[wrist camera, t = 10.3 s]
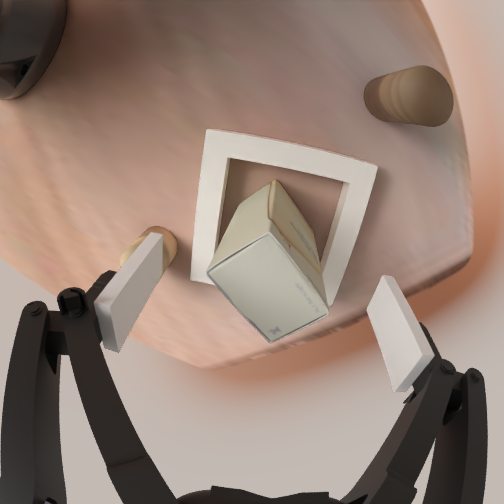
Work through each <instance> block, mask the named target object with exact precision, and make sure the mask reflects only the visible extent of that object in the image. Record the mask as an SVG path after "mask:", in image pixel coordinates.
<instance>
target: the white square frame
mask: <svg viewBox="0 0 504 504" xmlns="http://www.w3.org/2000/svg"><path fill="white" fill-rule="evenodd" d="M231 158H234V159H240V160H246V161H252V162H257V163H263V164H268V165H273V166H278V167H283V168H288V169H292V170H297V171H302V172H306V173H311V174H315V175H319V176H324V177H328V178H332V179H336V180H340V181H344V182H343V186H342V190H341V194H340V197H339V201H338V204H337V208H336V212H335V215H334V219H333V222H332V225H331V229H330V232H329V236H328V239H327V242H326V245H325V249H324V252H323V255H322V258H321V261H320V267H321V272H322V277H323V282H324V287H325V292H326V297H327V303H328V306H332V304H333V301H334V299H335V296H336V294H337V291H338V289H339V286H340V283H341V281H342V278H343V275H344V273H345V270H346V267H347V264H348V262H349V259H350V256H351V253H352V250H353V247H354V244H355V242H356V239H357V236H358V233H359V230H360V226H361V223H362V220H363V217H364V214H365V211H366V207H367V204H368V201H369V197H370V194H371V191H372V187H373V184H374V180H375V176H376V173H377V169H378V166H377V165H375V164H373V163H371V162H368V161H365V160H362V159H358V158H355V157H351V156H347V155H344V154H340V153H336V152H332V151H328V150H324V149H320V148H316V147H312V146H308V145H303V144H299V143H294V142H289V141H285V140H280V139H274V138H269V137H264V136H258V135H253V134H247V133H241V132H234V131H227V130H220V129H213V128H211V129H207V130H206V136H205V143H204V150H203V157H202V165H201V173H200V181H199V189H198V198H197V207H196V217H195V227H194V238H193V249H192V262H191V275H190V280H193V281H198V282H203V283H207V284H212V285H215V284H214V283H213V282H212V281H211V280H210V279H209V278H208V277H207V275H206V270H207V268H208V266H209V264H210V262H211V260H212V258H213V256H214V254H215V252H216V250H217V248H218V241H219V233H220V226H221V219H222V212H223V205H224V198H225V191H226V184H227V178H228V171H229V165H230V159H231Z"/></svg>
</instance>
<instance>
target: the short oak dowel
mask: <svg viewBox="0 0 504 504" xmlns="http://www.w3.org/2000/svg"><path fill="white" fill-rule="evenodd" d="M150 232H153V233H158V234H163V256H162V275H163V274H164V272H165V271H166V269H167V268H168V266H169V264H170V263H171V261H172V260H173V258H174V257H175V255H176V253H177V250H178V245H177V241H176V238H175V237H174V235H173V234H172V233H171V232H170V231H169V230H167V229H165V228H163V227H160V226H154V227H150V228H148V229H147V230H146V231H145V232H144V233H143V234H142V235H141V236H140V237H139V238H138V239H137V240H136V241H135V242H134V243H133V244H132V245H131V246H130V247H129V248H128V249H127V250H126V251H125V252H124V253H123V255H122V256H121V259H120V268H121V267H122V266H123V264H124V263H125V262H126V261H127V260H128V258H129V257H130V256H131V255H132V254H133V252H134V251H135V250H136V249H137V248H138V246H139V245H140V244H141V243H142V242H143V241H144V239H145V238H146V237H147V236H148V235H149V234H150ZM161 277H162V276H161ZM159 280H160V279H159ZM158 282H159V281H158Z"/></svg>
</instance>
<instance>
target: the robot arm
mask: <svg viewBox="0 0 504 504" xmlns="http://www.w3.org/2000/svg"><path fill="white" fill-rule="evenodd" d="M65 19H66V2H65V0H0V100H5V99H12V98H16V97H19V96H21V95H22V94H24V93H25V92H27V91H28V90H29V89H30V88H31V87H32V86H33V85H34V84H35V83H36V82H37V80H38V79H39V78H40V77H41V75H42V74H43V72H44V71H45V69H46V68H47V66H48V64H49V63H50V61H51V59H52V57H53V55H54V53H55V51H56V49H57V46H58V44H59V41H60V38H61V35H62V32H63V29H64V24H65ZM162 256H163V234H158V233H153V232H150V234H149V235H148V236H147V237H146V238H145V239H144V241H143V242H142V243H141V244H140V245H139V246H138V248H137V249H136V250H135V251H134V252H133V254H132V255H131V256H130V257H129V258H128V260H127V261H126V262H125V263H124V264H123V266H122V267H121V268H120V269H119V271H118V272H115V271H111V270H109V271H107V272H105V273H103V274H102V275H101V276H100V277H99V278H98V279H97V280H96V282H95V283H94V284H93V285H92V287H91V288H90V289H89V290H88V291H87V293H85V292H84V290H82V289H80V288H76V287H72V288H67V289H64V290H63V291H62V292H60V293H59V295H58V297H57V302H58V305H59V309H60V311H49V310H48V308H47V306H46V304H45V303H44V302H42V301H34V302H31V303H29V304H27V305H26V306H25V307H24V309H23V311H22V314H21V318H20V321H19V325H18V328H17V332H16V336H15V340H14V345H13V349H12V354H11V358H10V363H9V369H8V375H7V381H6V388H5V395H4V403H3V413H2V427H1V477H0V504H67V499H66V498H67V497H66V488H65V481H64V474H63V466H62V456H61V444H60V425H59V384H60V381H59V380H60V364H61V355H69V356H70V361H71V365H72V369H73V373H74V376H75V380H76V384H77V387H78V391H79V394H80V397H81V400H82V403H83V407H84V410H85V413H86V415H87V418H88V421H89V424H90V426H91V429H92V432H93V435H94V437H95V440H96V442H97V445H98V447H99V449H100V452H101V454H102V456H103V459H104V461H105V463H106V466H107V472H108V474H109V477H110V479H111V481H112V483H113V485H114V487H115V489H116V491H117V493H118V495H119V496H120V498H121V500H122V502H123V503H124V504H411V503H412V501H413V499H414V498H415V495H416V493H417V489H416V488H414V484H415V482H416V480H417V478H418V476H419V474H420V472H421V470H422V468H423V466H424V464H425V461H426V459H427V457H428V455H429V452H430V450H431V448H432V445H433V443H434V440H435V438H436V440H435V447H434V453H433V459H432V464H431V470H430V474H429V480H428V484H427V488H426V493H425V496H424V500H423V504H483V497H484V490H485V481H486V468H487V445H488V444H487V443H488V442H487V441H488V434H487V433H488V429H487V406H486V393H485V383H484V378H483V376H482V374H481V372H479V370H477V369H474V368H470V369H468V370H467V371H466V373H465V374H463V373H460V372H456V369H455V367H454V366H453V364H452V363H451V362H449V361H447V360H445V359H442V358H441V356H440V354H439V352H438V350H437V348H436V346H435V344H434V342H433V340H432V338H431V337H430V334H429V332H428V330H427V329H426V327H425V326H424V325H423V324H422V323H421V322H418V321H417V319H416V317H415V315H414V313H413V311H412V309H411V308H410V306H409V304H408V302H407V300H406V299H405V297H404V295H403V293H402V291H401V290H400V288H399V286H398V284H397V283H396V281H395V279H394V278H393V277H392V276H387V275H382V277H381V279H380V282H379V284H378V286H377V288H376V291H375V293H374V295H373V297H372V299H371V301H370V303H369V305H368V308H367V313H368V316H369V318H370V321H371V324H372V326H373V329H374V332H375V335H376V338H377V341H378V343H379V347H380V350H381V352H382V356H383V359H384V362H385V365H386V368H387V371H388V374H389V377H390V380H391V384H392V387H393V391H394V392H406V391H407V390H408V389H409V388H410V386H411V385H413V388H414V391H413V392H412V393H411V394H410V395H409V397H408V398H407V399H406V400H405V401H404V402H403V403H406V404H405V406H404V408H403V410H402V412H401V414H400V416H399V417H398V419H397V421H396V423H395V425H394V426H393V428H392V430H391V432H390V434H389V435H388V437H387V438H386V440H385V442H384V443H383V445H382V447H381V448H380V450H379V451H378V453H377V455H376V456H375V458H374V459H373V461H372V462H371V464H370V465H369V466H368V468H367V469H366V471H365V472H364V474H363V475H362V476H361V478H360V479H359V481H358V482H357V483H356V485H355V486H354V487H353V489H352V490H351V491H350V492H349V493H348V494H347V495H346V496H345V497H344V498H342V499H341V500H340V501H339V500H337V499H333V498H330V497H329V492H311V493H298V494H294V495H289V496H284V497H279V498H268V497H264V496H260V495H257V494H254V493H251V492H248V491H245V490H241V489H233V488H224V487H218V486H212V487H211V490H202V491H196V492H192V493H189V494H186V495H183V496H181V497H179V498H177V499H176V498H175V496H174V495H173V493H172V492H171V490H170V489H169V487H168V486H167V484H166V482H165V481H164V479H163V478H162V476H161V474H160V473H159V471H158V469H157V468H156V466H155V464H154V463H153V461H152V459H151V458H150V456H149V455H148V453H147V452H146V450H145V448H144V446H143V444H142V442H141V441H140V439H139V437H138V435H137V433H136V431H135V429H134V427H133V425H132V423H131V421H130V418H129V416H128V414H127V412H126V410H125V408H124V405H123V403H122V401H121V399H120V396H119V394H118V391H117V389H116V387H115V384H114V382H113V379H112V377H111V374H110V372H109V369H108V366H107V364H106V361H105V358H104V355H103V352H102V350H101V347H100V343H101V341H103V345H104V348H105V349H108V350H112V351H115V352H118V353H119V352H120V350H121V348H122V346H123V344H124V342H125V340H126V338H127V336H128V335H129V333H130V331H131V329H132V327H133V325H134V323H135V322H136V320H137V318H138V316H139V314H140V313H141V311H142V309H143V307H144V305H145V304H146V302H147V300H148V298H149V297H150V295H151V293H152V291H153V290H154V288H155V286H156V285H157V283H158V281H159V279H160V278H161V276H162Z"/></svg>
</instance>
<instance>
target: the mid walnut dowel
mask: <svg viewBox="0 0 504 504" xmlns="http://www.w3.org/2000/svg"><path fill="white" fill-rule="evenodd" d="M364 101H365V104H366V107H367V109H368V110H369V111H370V113H371V114H372V115H373V116H375V117H376V118H378V119H380V120H384V121H392V122H401V123H409V124H416V125H423V126H429V127H436V126H440V125H442V124H443V123H445V122H446V121H447V120H448V119H449V117H450V115H451V113H452V110H453V94H452V91H451V88H450V86H449V84H448V82H447V80H446V79H445V78H444V77H443V75H441V74H440V73H439V72H438V71H437V70H435V69H433V68H431V67H428V66H415V67H412V68H408V69H404V70H401V71H398V72H394V73H391V74H388V75H384V76H381V77H378V78H375V79H373V80H371V81H370V82H369V83H368V84H367V86H366V88H365V91H364Z"/></svg>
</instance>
